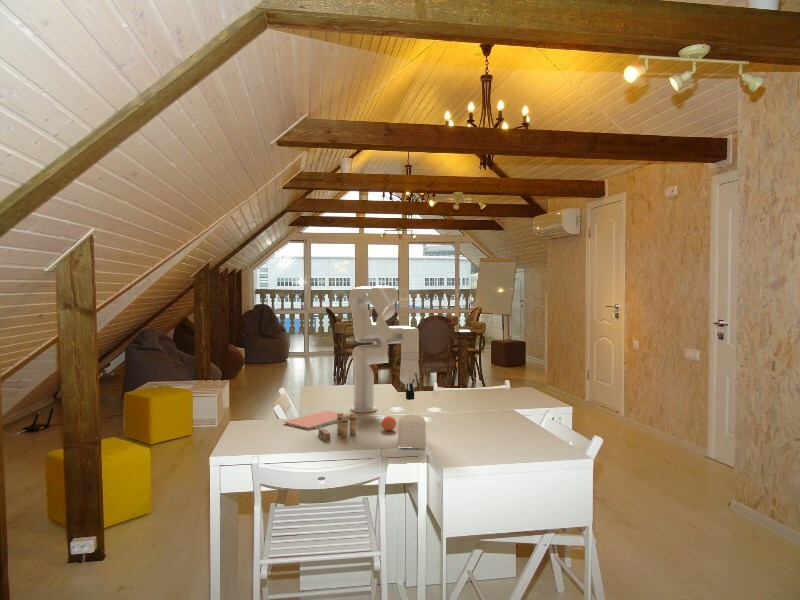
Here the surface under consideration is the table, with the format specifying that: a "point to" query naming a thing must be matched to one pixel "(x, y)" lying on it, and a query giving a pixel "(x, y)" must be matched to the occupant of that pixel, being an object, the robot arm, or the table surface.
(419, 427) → the photo printer
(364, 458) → the table surface
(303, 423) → the notebook
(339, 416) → the rear pin
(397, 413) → the table surface
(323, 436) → the block
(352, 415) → the front pin
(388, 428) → the ball
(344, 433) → the rear pin
